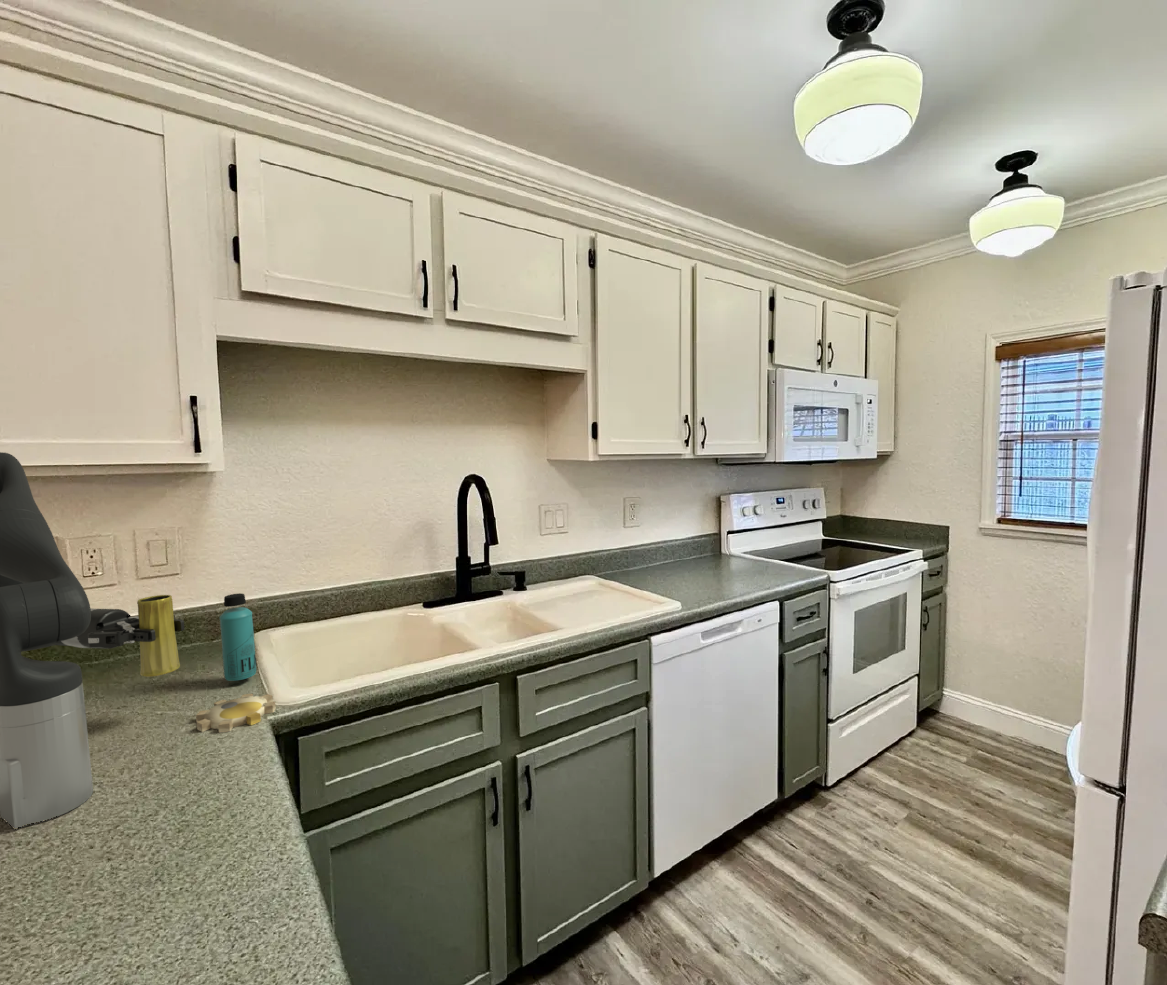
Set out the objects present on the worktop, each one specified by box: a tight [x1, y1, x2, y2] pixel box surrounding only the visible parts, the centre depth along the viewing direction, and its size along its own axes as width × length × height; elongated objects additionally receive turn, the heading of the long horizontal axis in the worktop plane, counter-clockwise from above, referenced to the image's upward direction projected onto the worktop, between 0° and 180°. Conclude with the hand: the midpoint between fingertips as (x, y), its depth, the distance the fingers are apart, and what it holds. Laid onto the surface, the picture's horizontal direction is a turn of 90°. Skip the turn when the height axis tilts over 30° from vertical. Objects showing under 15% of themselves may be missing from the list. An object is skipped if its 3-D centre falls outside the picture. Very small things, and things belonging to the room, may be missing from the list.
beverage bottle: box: [219, 593, 258, 682], centre depth 123 cm, size 6×7×20 cm
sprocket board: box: [195, 693, 277, 734], centre depth 107 cm, size 13×13×2 cm
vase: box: [136, 594, 181, 678], centre depth 105 cm, size 6×6×14 cm
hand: (168, 630), depth 105 cm, fingers closed on vase, 5 cm apart
